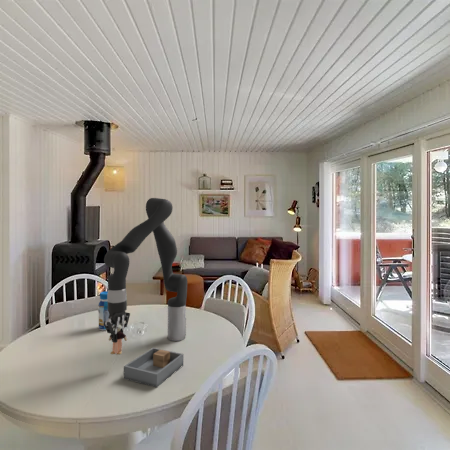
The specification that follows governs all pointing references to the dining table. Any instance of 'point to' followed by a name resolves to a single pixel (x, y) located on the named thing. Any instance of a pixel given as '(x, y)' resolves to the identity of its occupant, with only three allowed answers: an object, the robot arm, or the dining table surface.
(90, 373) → the dining table surface
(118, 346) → the grandmother figurine
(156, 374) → the tote
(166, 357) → the walnut block
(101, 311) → the blue labelled canister
